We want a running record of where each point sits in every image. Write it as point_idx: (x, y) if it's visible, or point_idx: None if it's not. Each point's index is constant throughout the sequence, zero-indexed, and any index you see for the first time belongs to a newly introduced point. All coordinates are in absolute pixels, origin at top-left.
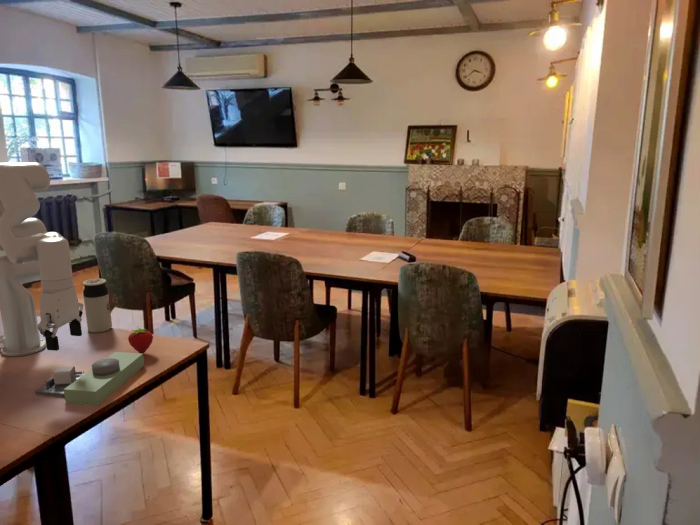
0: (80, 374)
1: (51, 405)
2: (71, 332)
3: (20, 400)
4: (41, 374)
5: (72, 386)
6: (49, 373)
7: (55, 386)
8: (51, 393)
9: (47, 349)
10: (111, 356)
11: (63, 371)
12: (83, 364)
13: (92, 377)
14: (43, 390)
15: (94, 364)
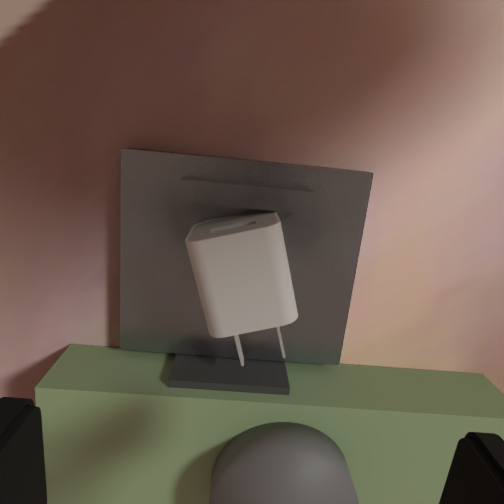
0: (332, 286)
1: (39, 293)
2: (479, 483)
3: (55, 102)
4: (376, 18)
5: (74, 412)
6: (388, 65)
7: (186, 230)
8: (121, 246)
9: (5, 399)
10: (461, 429)
11: (209, 298)
12: (497, 207)
13: (187, 456)
14: (135, 191)
15: (268, 467)
